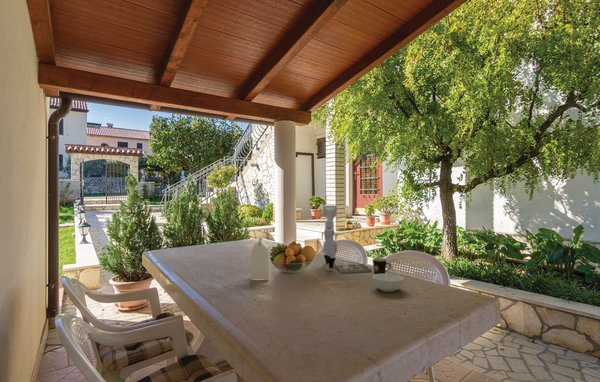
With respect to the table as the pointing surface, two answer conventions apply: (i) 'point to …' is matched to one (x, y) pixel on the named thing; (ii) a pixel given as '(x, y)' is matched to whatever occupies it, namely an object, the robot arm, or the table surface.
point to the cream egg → (345, 266)
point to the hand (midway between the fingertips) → (329, 266)
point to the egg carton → (354, 268)
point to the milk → (260, 261)
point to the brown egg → (329, 268)
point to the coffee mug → (380, 265)
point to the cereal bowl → (387, 282)
